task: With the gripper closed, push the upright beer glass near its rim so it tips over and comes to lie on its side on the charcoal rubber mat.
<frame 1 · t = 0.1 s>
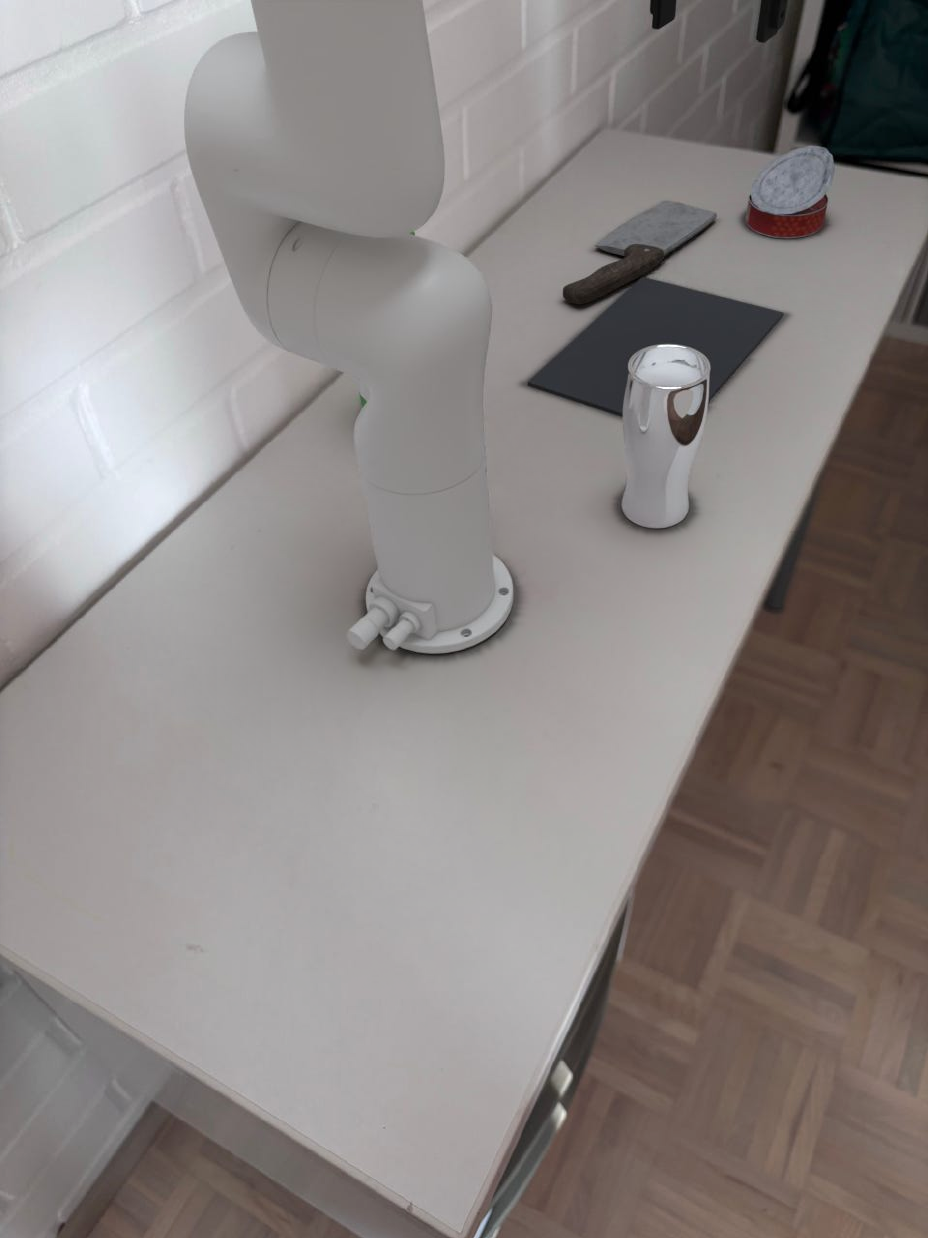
hand: (713, 30, 82), 31 cm above the table, tool pointing down, fingers open, 9 cm apart
cleaver: (632, 256, 120), on the table
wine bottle: (400, 414, 101), on the table
mat: (658, 349, 105), on the table
beer glass: (654, 508, 88), on the table
canned food: (783, 222, 124), on the table
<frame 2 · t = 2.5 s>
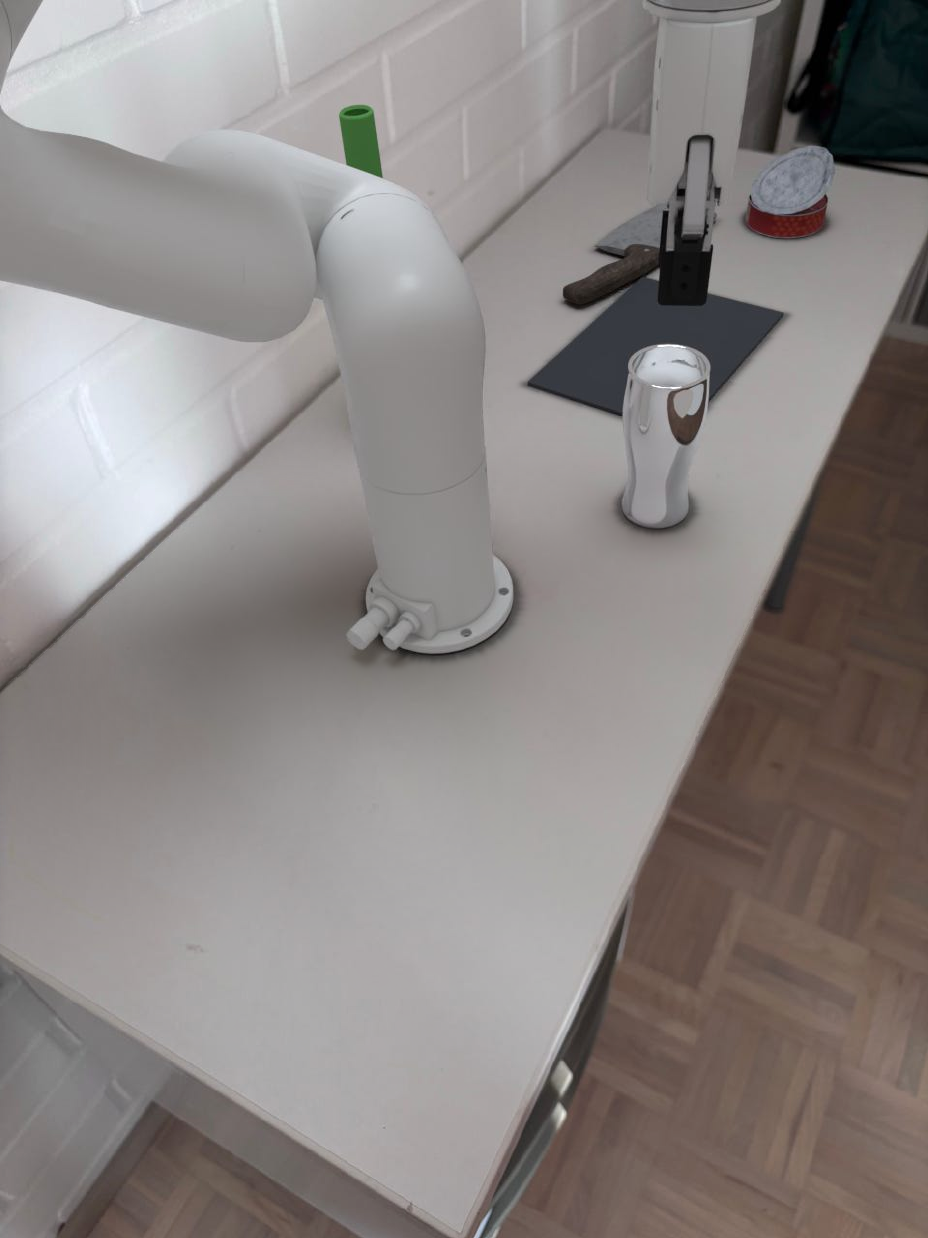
hand: (681, 282, 65), 25 cm above the table, tool pointing down, fingers open, 4 cm apart
nothing on the table moved.
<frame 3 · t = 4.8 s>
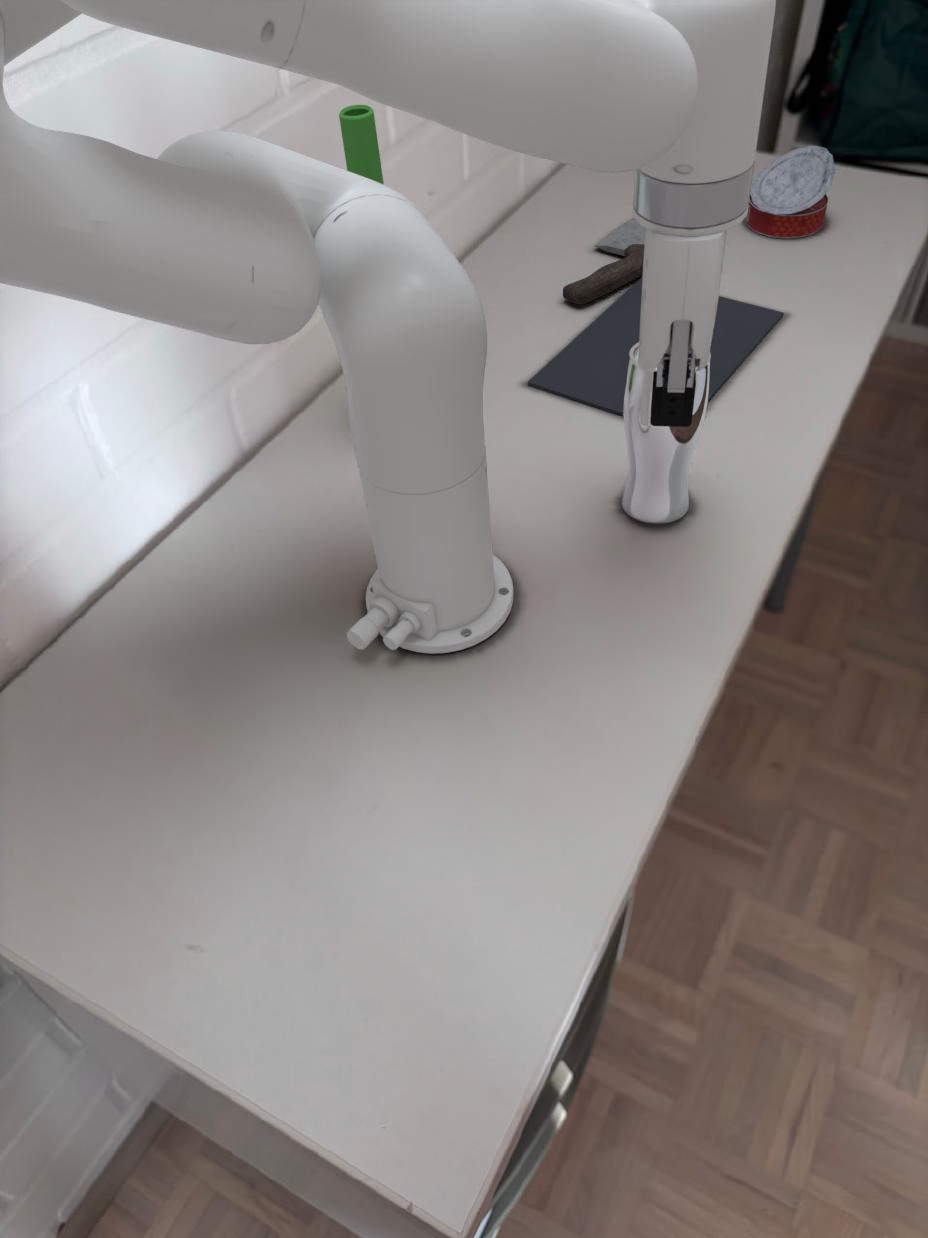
hand: (670, 419, 75), 13 cm above the table, tool pointing down, fingers closed
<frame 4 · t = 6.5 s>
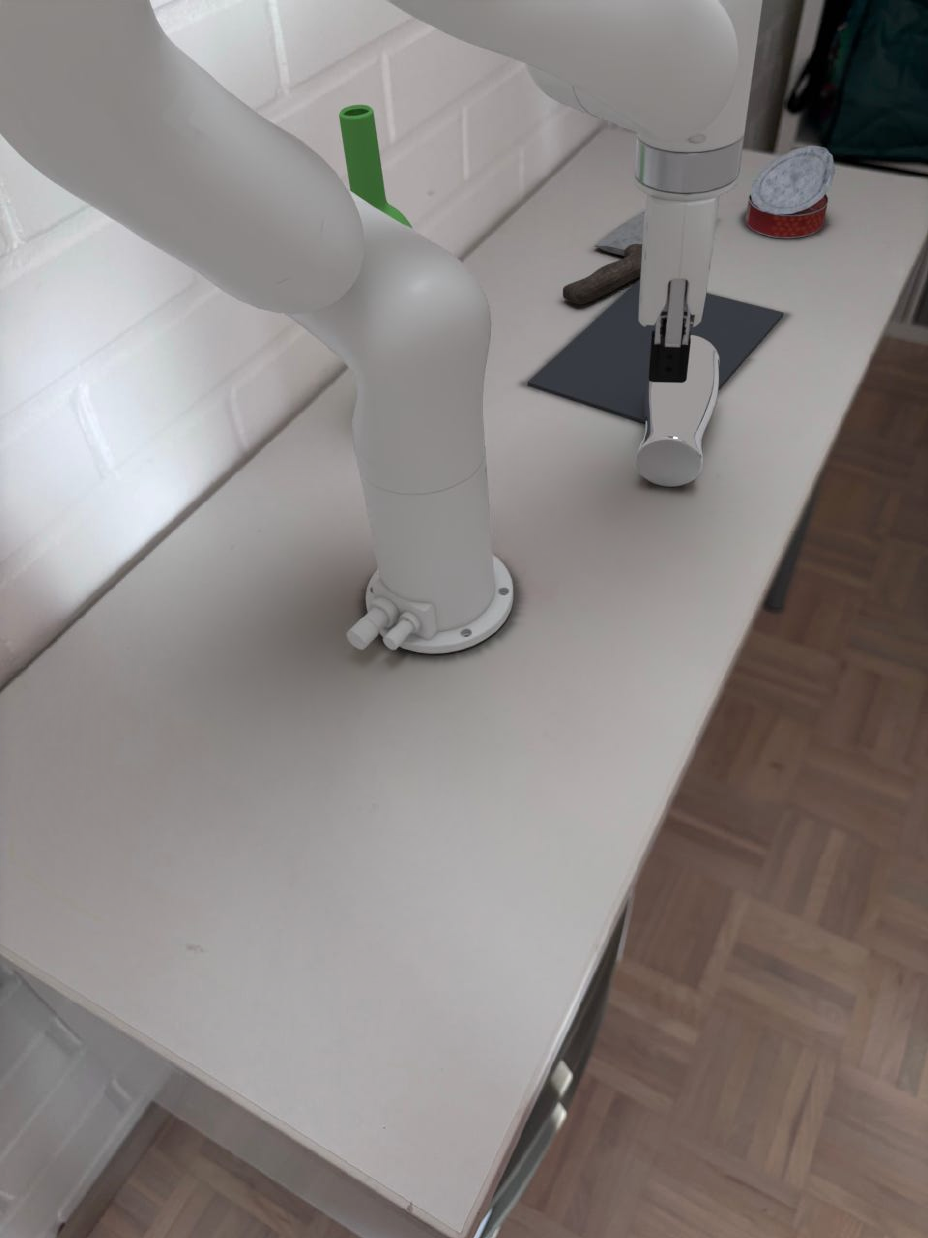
hand: (667, 376, 82), 11 cm above the table, tool pointing down, fingers closed
beer glass: (668, 464, 87), point 3 cm above the table, touching mat
everything else where it was.
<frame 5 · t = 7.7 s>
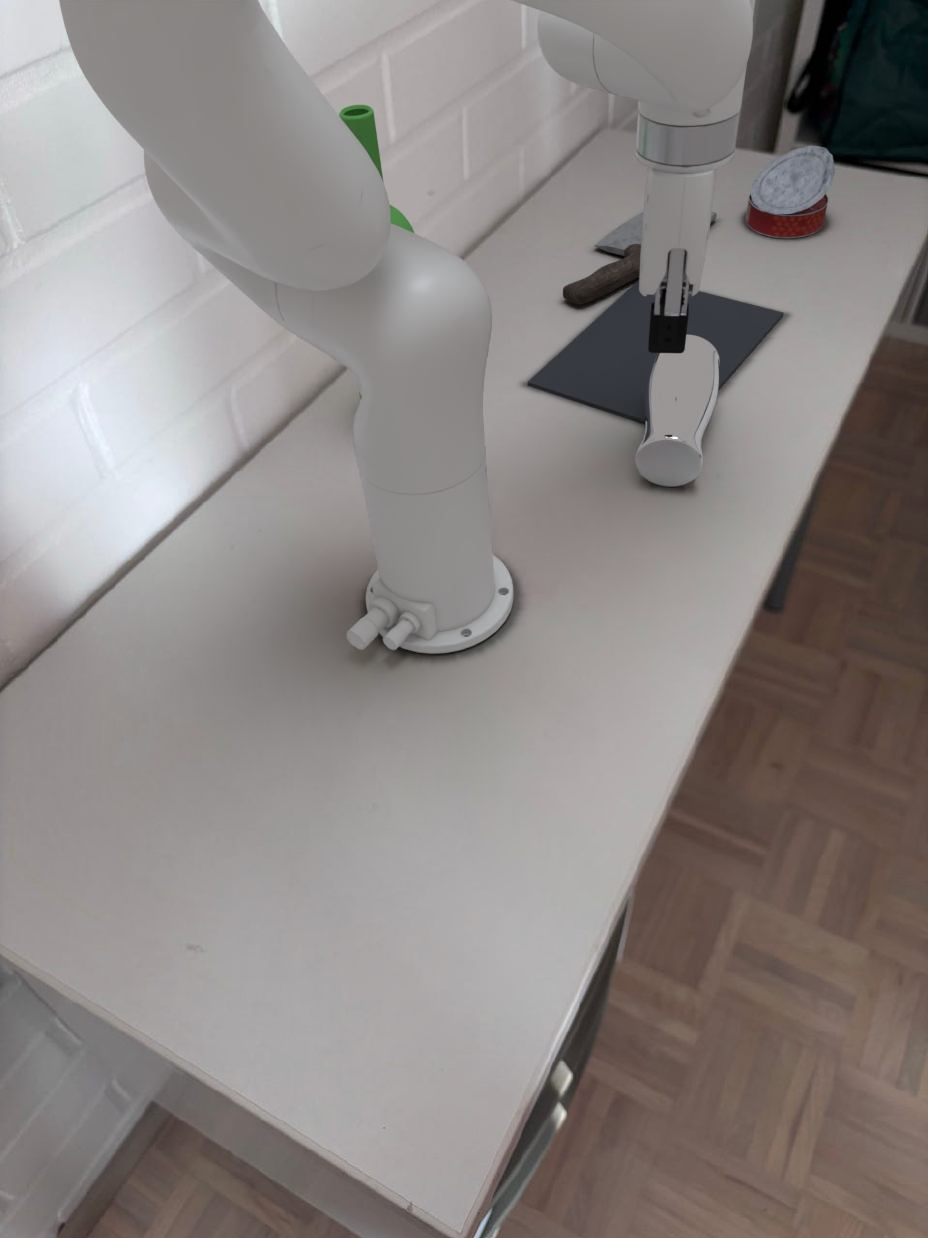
hand: (666, 347, 85), 11 cm above the table, tool pointing down, fingers closed
nothing on the table moved.
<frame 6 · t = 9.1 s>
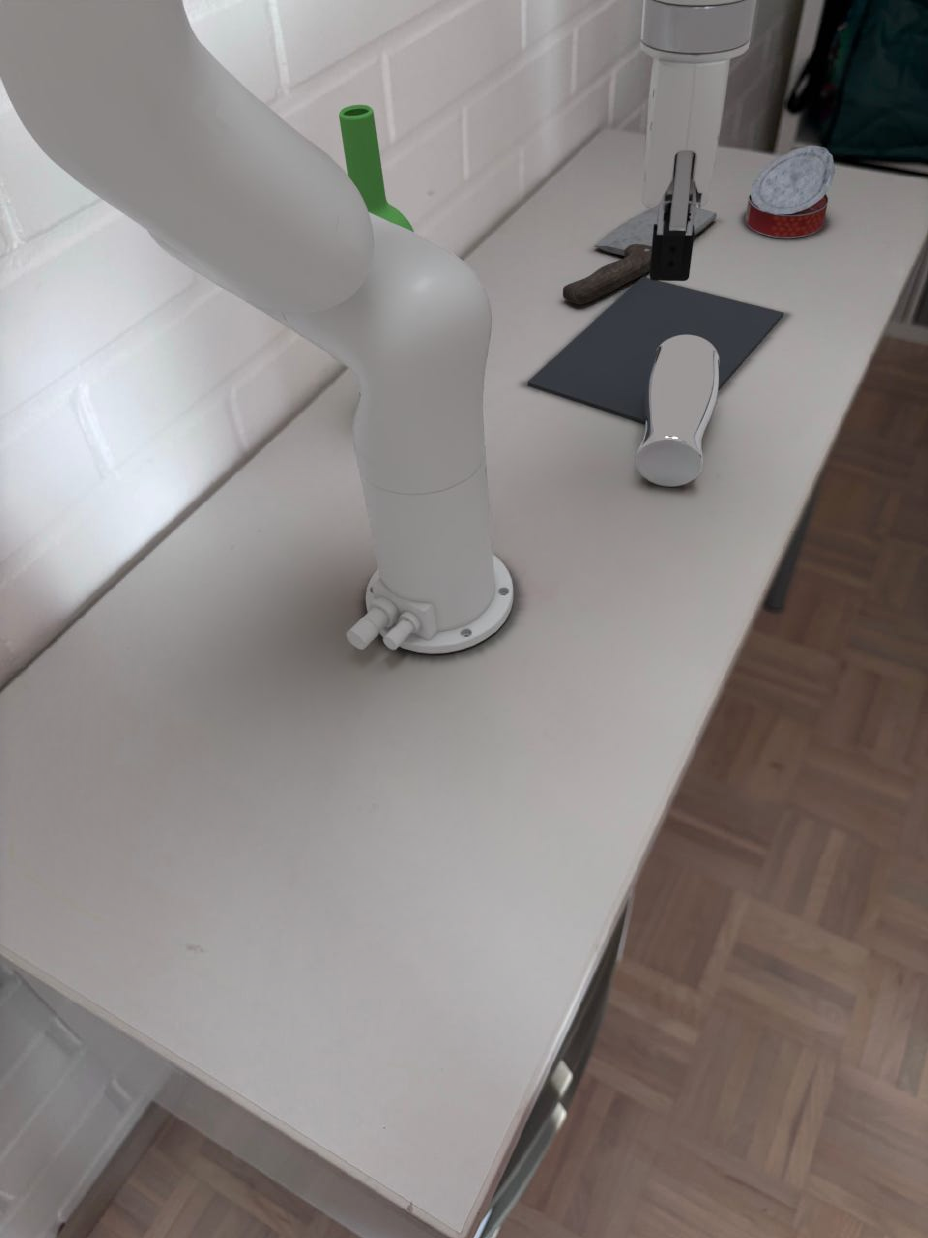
hand: (668, 275, 78), 19 cm above the table, tool pointing down, fingers closed
nothing on the table moved.
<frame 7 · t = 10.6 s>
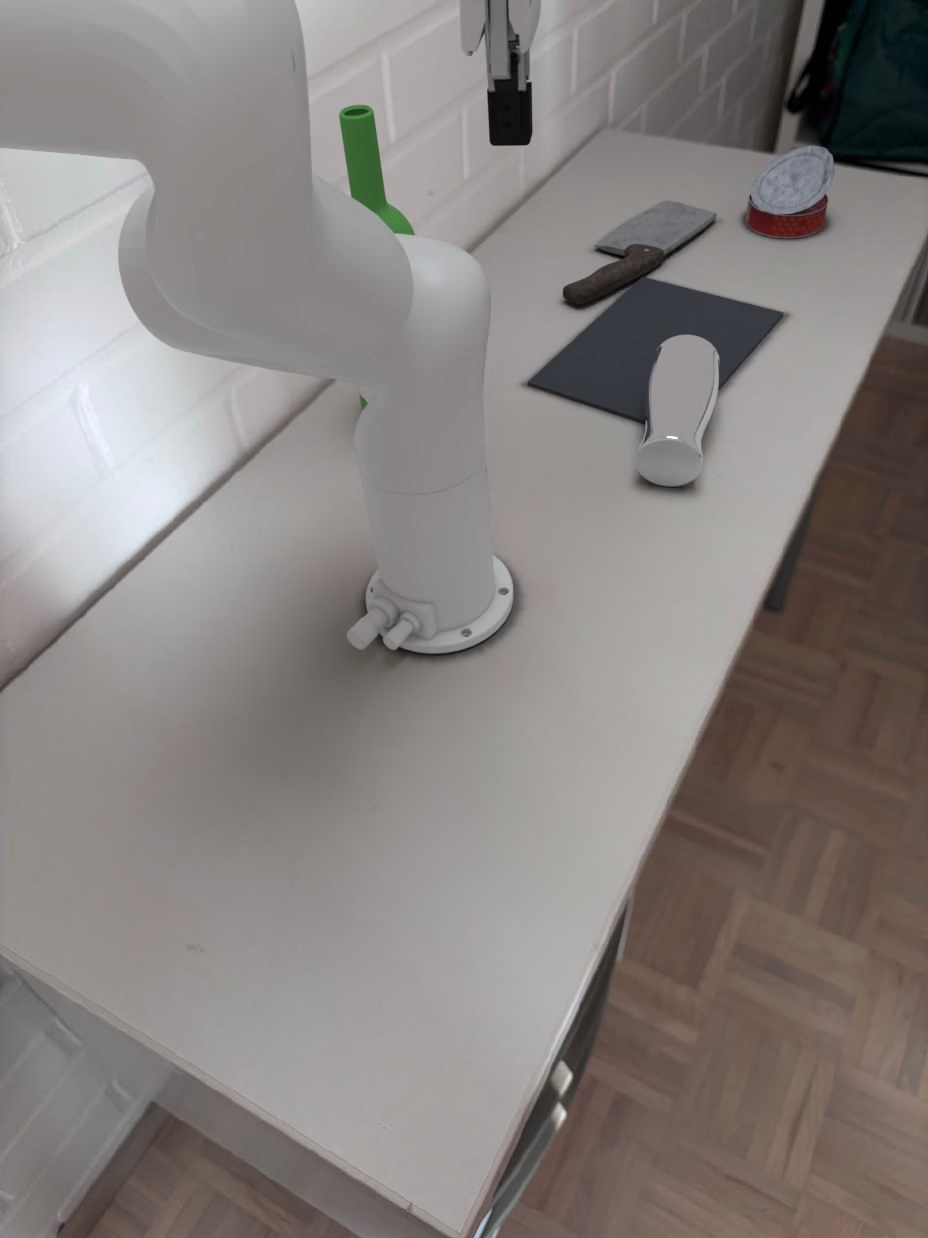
hand: (511, 140, 74), 29 cm above the table, tool pointing down, fingers closed
nothing on the table moved.
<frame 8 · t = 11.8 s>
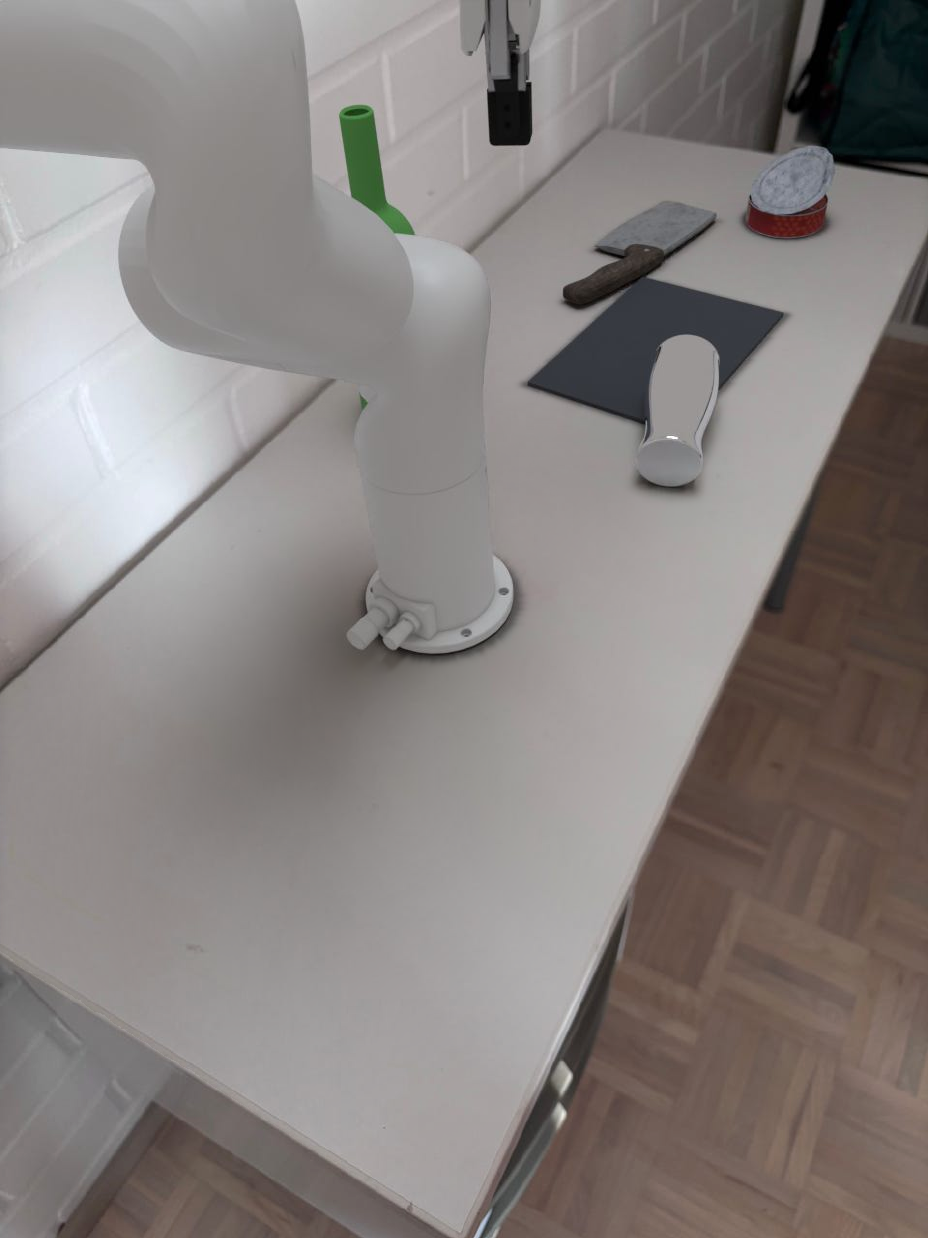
hand: (511, 140, 74), 29 cm above the table, tool pointing down, fingers closed
nothing on the table moved.
at the end: beer glass tilted 85°; beer glass touching mat, table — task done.
